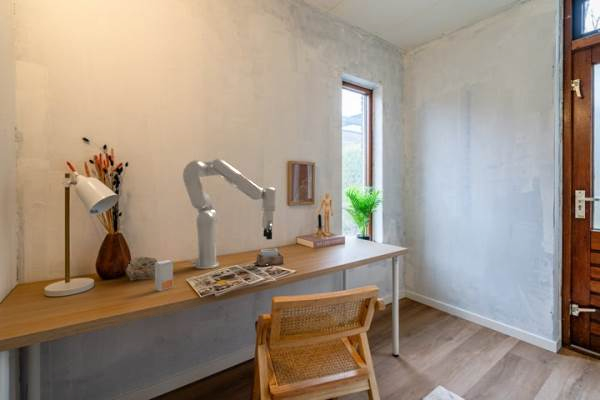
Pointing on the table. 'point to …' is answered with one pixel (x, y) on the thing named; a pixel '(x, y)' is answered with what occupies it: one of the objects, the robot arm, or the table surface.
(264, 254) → the crate small
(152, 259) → the rock
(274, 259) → the crate large
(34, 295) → the table surface
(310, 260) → the table surface
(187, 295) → the table surface
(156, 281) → the skincare box
